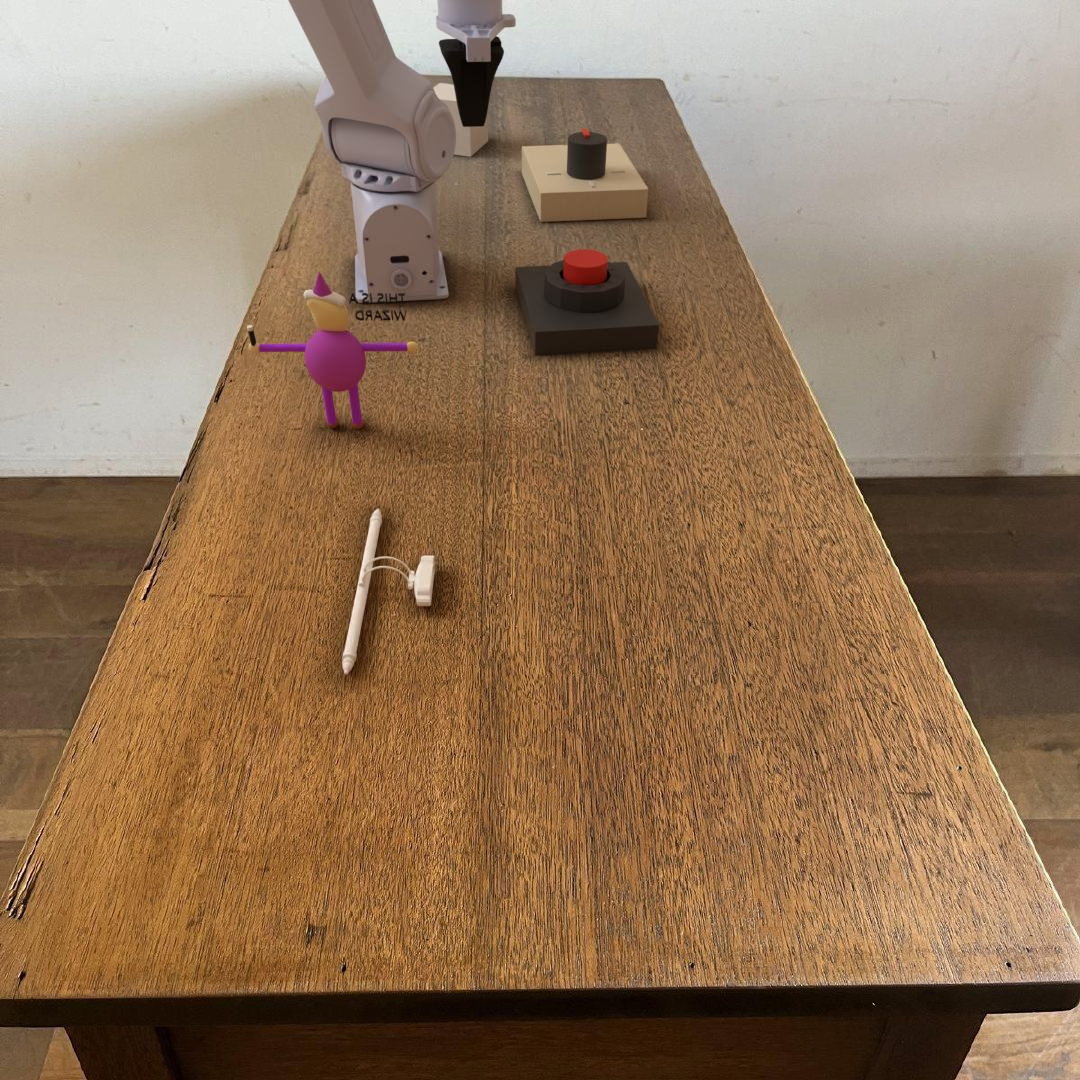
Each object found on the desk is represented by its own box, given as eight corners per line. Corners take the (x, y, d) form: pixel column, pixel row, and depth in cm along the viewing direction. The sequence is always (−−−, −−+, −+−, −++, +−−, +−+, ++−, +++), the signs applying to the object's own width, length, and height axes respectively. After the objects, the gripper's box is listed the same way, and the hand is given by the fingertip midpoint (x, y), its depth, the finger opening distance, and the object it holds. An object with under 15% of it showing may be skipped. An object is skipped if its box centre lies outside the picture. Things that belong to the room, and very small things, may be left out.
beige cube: (470, 157, 114) (469, 102, 110) (422, 150, 115) (419, 96, 111) (488, 141, 118) (487, 87, 114) (442, 135, 120) (439, 82, 116)
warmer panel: (646, 217, 101) (648, 187, 99) (540, 222, 99) (540, 191, 97) (617, 170, 111) (619, 141, 109) (521, 173, 110) (521, 144, 108)
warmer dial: (608, 178, 101) (611, 140, 98) (570, 180, 100) (571, 142, 98) (600, 165, 104) (603, 128, 101) (563, 166, 103) (564, 129, 101)
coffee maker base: (656, 349, 80) (661, 304, 77) (534, 356, 78) (535, 310, 76) (625, 284, 89) (628, 241, 86) (515, 290, 87) (515, 247, 85)
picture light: (372, 513, 62) (369, 487, 61) (441, 514, 63) (439, 487, 61) (339, 678, 52) (335, 650, 50) (422, 679, 52) (420, 651, 50)
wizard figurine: (424, 418, 71) (414, 261, 63) (422, 443, 69) (411, 283, 61) (267, 419, 71) (238, 261, 63) (259, 444, 68) (227, 282, 61)
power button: (610, 286, 80) (612, 266, 79) (567, 288, 80) (567, 268, 78) (601, 267, 83) (603, 247, 82) (559, 269, 82) (560, 249, 81)
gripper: (526, -23, 80) (525, 148, 88) (504, -55, 91) (505, 100, 99) (439, -23, 79) (446, 150, 87) (428, -55, 90) (435, 102, 98)
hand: (472, 124), depth 93 cm, fingers closed
